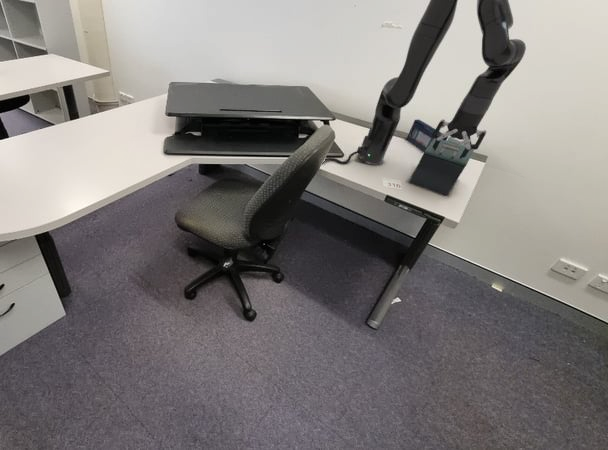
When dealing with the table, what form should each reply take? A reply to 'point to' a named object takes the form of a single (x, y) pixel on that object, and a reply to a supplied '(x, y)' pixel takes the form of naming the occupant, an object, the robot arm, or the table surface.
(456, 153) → the bin lid
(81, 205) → the table surface
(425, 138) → the vhs cassette tape
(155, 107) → the table surface
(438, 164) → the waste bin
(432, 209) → the table surface
